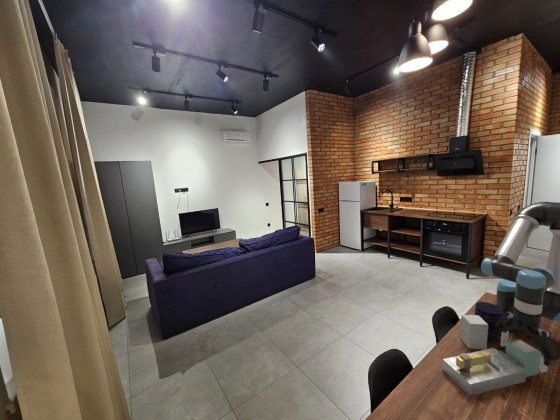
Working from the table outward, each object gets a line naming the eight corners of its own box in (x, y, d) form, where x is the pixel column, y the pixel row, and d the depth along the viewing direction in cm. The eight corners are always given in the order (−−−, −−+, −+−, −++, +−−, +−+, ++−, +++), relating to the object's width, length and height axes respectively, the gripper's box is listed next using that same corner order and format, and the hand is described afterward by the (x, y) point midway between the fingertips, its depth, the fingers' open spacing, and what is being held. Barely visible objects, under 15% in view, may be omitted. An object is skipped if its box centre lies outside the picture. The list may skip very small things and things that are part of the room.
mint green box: (518, 360, 101) (520, 339, 99) (538, 374, 94) (541, 351, 92) (504, 363, 100) (506, 342, 98) (523, 377, 93) (526, 354, 91)
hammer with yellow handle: (454, 366, 94) (455, 354, 93) (484, 360, 96) (484, 348, 95) (461, 372, 91) (462, 360, 90) (492, 366, 93) (493, 354, 92)
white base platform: (492, 358, 103) (493, 345, 102) (525, 381, 91) (526, 368, 90) (442, 369, 99) (443, 356, 98) (469, 395, 87) (470, 381, 86)
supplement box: (487, 350, 107) (489, 325, 105) (468, 348, 109) (470, 324, 107) (477, 338, 114) (478, 315, 112) (459, 337, 116) (461, 314, 114)
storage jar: (485, 343, 111) (487, 314, 109) (468, 329, 121) (469, 302, 118) (505, 341, 111) (508, 312, 109) (487, 327, 121) (489, 301, 119)
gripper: (579, 328, 81) (571, 381, 84) (501, 292, 105) (497, 335, 109) (562, 332, 80) (554, 386, 83) (486, 295, 104) (483, 338, 107)
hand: (522, 357), depth 96 cm, fingers open, 13 cm apart
